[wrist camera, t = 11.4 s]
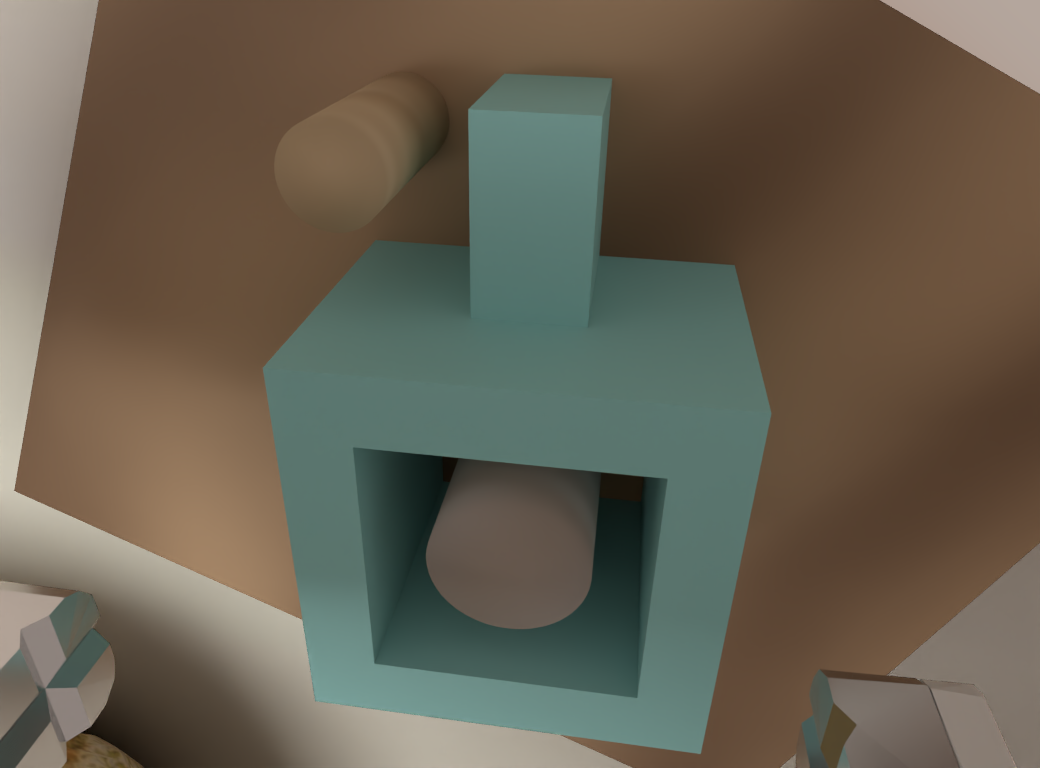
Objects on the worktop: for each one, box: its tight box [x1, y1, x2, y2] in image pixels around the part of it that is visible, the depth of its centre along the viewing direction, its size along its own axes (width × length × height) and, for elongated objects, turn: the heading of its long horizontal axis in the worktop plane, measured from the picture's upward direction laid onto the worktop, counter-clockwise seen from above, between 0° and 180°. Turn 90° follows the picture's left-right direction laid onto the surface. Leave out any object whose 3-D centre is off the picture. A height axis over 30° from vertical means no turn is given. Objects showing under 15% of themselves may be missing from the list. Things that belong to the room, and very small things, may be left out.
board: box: [14, 0, 1040, 768], centre depth 12 cm, size 16×14×5 cm
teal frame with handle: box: [263, 74, 772, 754], centre depth 11 cm, size 8×5×4 cm
